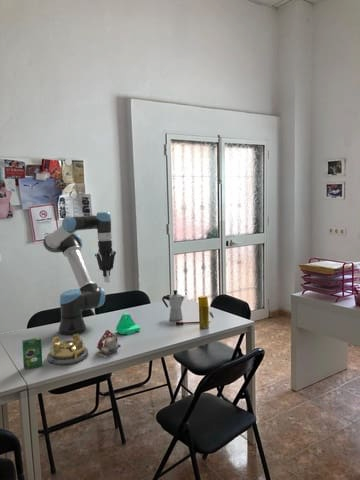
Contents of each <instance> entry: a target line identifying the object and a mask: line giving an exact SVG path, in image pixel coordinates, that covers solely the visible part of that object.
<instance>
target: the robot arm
mask: <svg viewBox="0 0 360 480" xmlns="http://www.w3.org/2000/svg"><path fill="white" fill-rule="evenodd" d="M86 230H97V247H98V252H97V253H95V254H94V256H95V258H96V261H97V265H98V268H99V270H100V271H102V276H103V279H104V283H107V284H108V283H110V282H111V281H110V280H111V279H110V276H111V271H112V270H113V268H114V263H115V257H116V254H117V252H116V251H114V250H113V248H112V247H113V241H112V218H111V213H110V212H109V211H107V212H106V211H99V212H97V213H96V215H94V214H93V215H92V214H91V215H84V216H67V217H64V218H63V219H62V222H61V225H60V226H59V227H58V228H57V229H55V230H54V231H53V232H50V233H48V234H47V235H45V236H44V238H43V241H42V244H43V247H44V248H45V250H47V251H48V252H50V253H62V254H63V256H64V257H66V258H67V261H68V263H69V265H70V268H71V271H72V272H73V275H74V278H75V280H76V282H77V285H78V287H79V289H78V288H73V289H69V290H65V291H63V292H62V293H61V294H60V295H59V296H60V297H59V304H60V324H59V327H58V333H59V334H60V335H64V336H73V335H74V334H79V335H80V334H81V333H84V332H85V331H86V330H87V328H86V326H87V325H86V324H85V321H84V318H83V313H82V312H84V311H88V310H91V309H97V308H100V307H102V306H104V303H105V301H106V292H105V290H104V288H103V287H102V286H98V283H96V282H94V280H93V279H92V278H93V277H92V276H91V274H90V272H89V269H88V267H87V265H86V263H85V260H84V257H83V255H82V253H81V251H82V248H83V242H82V241H83V239H82V238H81V236H80V234H79V233H76V232H77V231H86Z"/></svg>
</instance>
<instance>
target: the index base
mask: <svg viewBox="0 0 360 480" xmlns="http://www.w3.org/2000/svg"><path fill="white" fill-rule="evenodd" d="M46 357H47V358H46V359H47V362H48V364H50V365H52V366H58V365H59V366H61V367H63V366H70V365H76V364H80V363H82V362H83V361H84V360H86V359H87V358H88V357H89V350H88V348H86V347H85V352H84V353H83V354H82V355H80V356H78V357H77V353H76V352H74V358H71V359H54V358H52V357H51V355H50V352H48V354H47V356H46Z"/></svg>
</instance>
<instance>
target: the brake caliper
mask: <svg viewBox="0 0 360 480" xmlns="http://www.w3.org/2000/svg"><path fill="white" fill-rule="evenodd" d="M118 337H119V335H117V334H116V332H114V333H113V332H112V331H110V330H109V329H106V330H105V331H104V333H103V335H102V336H101V337H100V339H99V340H98V343H97V346H96V348H97V350H98V352H97V354H98V355H99V356H102V357H104V358H107V357H108V356H107V355H109V354H112V353H114V352H117V350H118V349H119V348H121V346H122V345H121V344H120V343H118ZM103 342H104V343H103Z"/></svg>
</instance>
